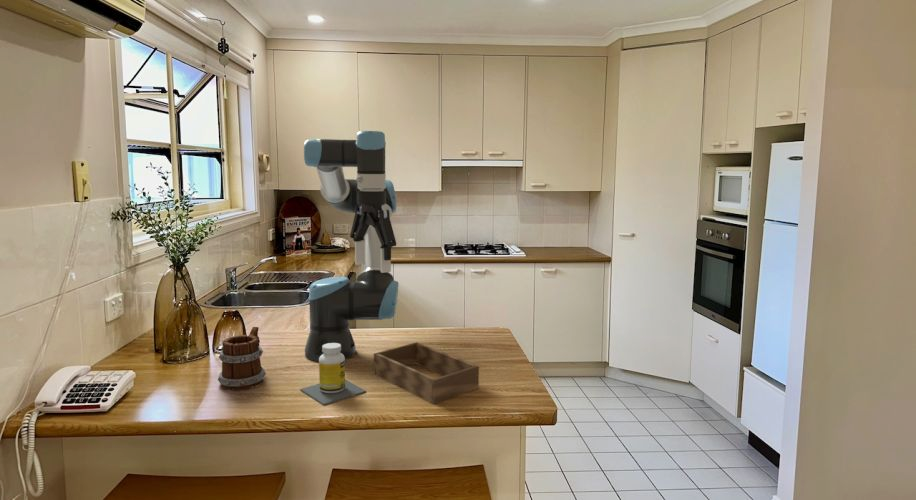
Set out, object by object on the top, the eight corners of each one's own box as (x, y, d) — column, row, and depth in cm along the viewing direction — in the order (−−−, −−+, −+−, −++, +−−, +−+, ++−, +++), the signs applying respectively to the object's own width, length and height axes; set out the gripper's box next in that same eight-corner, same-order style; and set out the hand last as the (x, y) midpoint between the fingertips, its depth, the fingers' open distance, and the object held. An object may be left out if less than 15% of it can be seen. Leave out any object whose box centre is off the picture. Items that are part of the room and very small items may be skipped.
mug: (206, 390, 140) (209, 331, 141) (235, 379, 154) (237, 325, 155) (250, 393, 139) (252, 333, 139) (275, 381, 153) (277, 327, 154)
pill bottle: (339, 395, 138) (338, 350, 136) (315, 393, 139) (314, 348, 137) (349, 385, 144) (348, 342, 142) (325, 383, 145) (325, 340, 144)
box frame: (374, 374, 153) (373, 353, 152) (416, 361, 163) (416, 342, 162) (434, 404, 134) (434, 380, 133) (478, 388, 144) (478, 366, 143)
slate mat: (300, 390, 142) (300, 388, 142) (341, 378, 150) (341, 377, 150) (323, 405, 133) (323, 403, 133) (366, 392, 141) (365, 390, 141)
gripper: (336, 188, 155) (338, 262, 158) (384, 192, 136) (385, 277, 139) (360, 187, 159) (361, 259, 163) (409, 192, 140) (409, 273, 144)
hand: (372, 268), depth 151 cm, fingers open, 13 cm apart
